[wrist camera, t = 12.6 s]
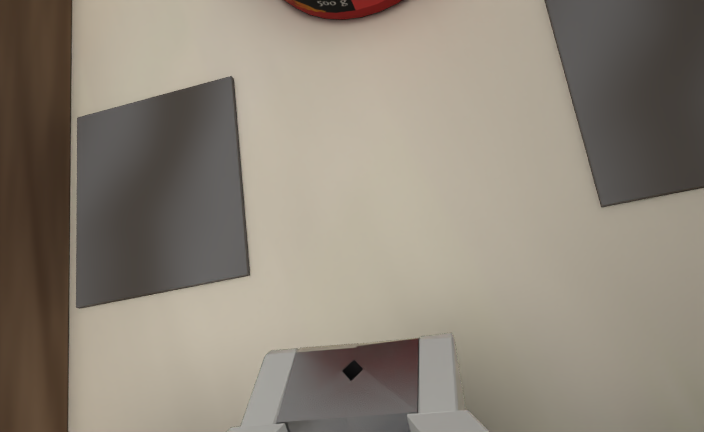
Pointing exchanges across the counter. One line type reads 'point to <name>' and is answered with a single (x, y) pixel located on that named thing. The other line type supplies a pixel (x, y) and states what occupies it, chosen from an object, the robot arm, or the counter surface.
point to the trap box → (225, 171)
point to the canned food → (341, 7)
